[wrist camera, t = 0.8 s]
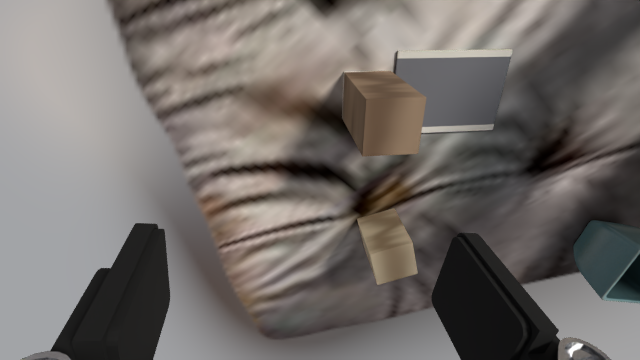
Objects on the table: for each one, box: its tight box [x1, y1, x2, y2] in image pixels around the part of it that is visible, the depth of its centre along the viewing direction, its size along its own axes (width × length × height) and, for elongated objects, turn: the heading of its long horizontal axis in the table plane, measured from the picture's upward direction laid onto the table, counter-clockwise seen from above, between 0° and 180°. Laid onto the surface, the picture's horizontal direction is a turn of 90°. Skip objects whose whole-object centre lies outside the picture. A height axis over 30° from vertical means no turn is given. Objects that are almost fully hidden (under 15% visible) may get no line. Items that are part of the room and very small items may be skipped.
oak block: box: [357, 208, 418, 285], centre depth 45 cm, size 5×5×7 cm
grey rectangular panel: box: [395, 49, 513, 133], centre depth 40 cm, size 12×9×1 cm
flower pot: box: [573, 220, 640, 303], centre depth 50 cm, size 9×9×9 cm
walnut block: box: [342, 71, 426, 156], centre depth 35 cm, size 5×5×10 cm
